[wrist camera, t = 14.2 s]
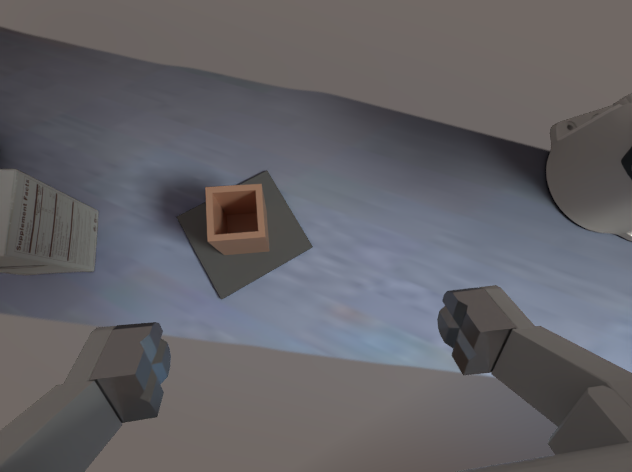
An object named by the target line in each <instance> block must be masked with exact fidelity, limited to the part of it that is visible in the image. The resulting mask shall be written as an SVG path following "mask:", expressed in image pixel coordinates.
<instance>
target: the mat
mask: <svg viewBox="0 0 632 472" xmlns="http://www.w3.org/2000/svg"><path fill="white" fill-rule="evenodd" d="M250 184H262V189H263V194H264V199H265V204H266V210H267V224H268V237H269V250H270V251H269V252H257V253H245V254H234V255H223V254H222V253H221V252H220V251H218V250H217V249H216V248H215V247H213V246H212V245H211V244H210V243H209V242H208V240H207V215H206V202H205V203H203V204H201V205H199V206H197V207H195V208H193V209H191V210H189V211H187V212H185V213H183V214H181V215H179V216H177V219H178V221H179V222H180V224H181V226H182V228H183V230H184V232H185V233H186V235H187V237H188V239H189V241H190V243H191V244H192V246H193V248H194V250H195V252H196V254H197V256H198V257H199V259H200V261H201V263H202V265H203V267H204V268H205V270H206V272H207V274H208V276H209V278H210V279H211V281H212V283H213V285H214V287H215V289H216V291H217V292H218V294H219V296H220V298H221V299H223V298H225V297H227V296H229V295H230V294H232V293H234V292H236V291H237V290H239V289H241V288H242V287H244V286H246V285H248V284H249V283H251V282H253V281H255V280H256V279H258V278H260V277H262V276H263V275H265V274H267V273H269V272H270V271H272V270H274V269H276V268H277V267H279V266H281V265H282V264H284V263H286V262H288V261H289V260H291V259H293V258H295V257H296V256H298V255H300V254H302V253H303V252H305V251H307V250H309V249H310V248H312V245H311V243H310V241H309V240H308V238H307V236H306V235H305V233H304V231H303V230H302V228H301V226H300V225H299V223H298V221H297V220H296V218H295V216H294V215H293V213H292V211H291V210H290V208H289V206H288V205H287V203H286V201H285V200H284V198H283V196H282V195H281V193H280V191H279V190H278V188H277V186H276V185H275V183H274V181H273V179H272V178H271V176H270V174H269V173H268V171H265V172H263V173H261V174H259V175H257V176H255V177H253V178H251V179H250V180H248V181H246V182H244V183H242V184H240V185H250Z"/></svg>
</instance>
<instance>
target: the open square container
mask: <svg viewBox="0 0 632 472" xmlns="http://www.w3.org/2000/svg"><path fill="white" fill-rule="evenodd" d="M205 189H206V215H207V240H208V242H209V243H210V244H211V245H212V246H213V247H215V248H216V249H217V250H218V251H220V252H221V253H222V254H223V255H234V254H245V253H257V252H269V251H270V250H269V237H268V224H267V210H266V204H265V199H264V194H263V189H262V184H250V185H234V186H218V187H205Z"/></svg>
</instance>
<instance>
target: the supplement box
mask: <svg viewBox="0 0 632 472" xmlns="http://www.w3.org/2000/svg"><path fill="white" fill-rule="evenodd" d="M97 229H98V211H97V210H96V209H94V208H92V207H90V206H88V205H86V204H84V203H82V202H80V201H78V200H76V199H74V198H72V197H70V196H68V195H66V194H64V193H62V192H60V191H58V190H56V189H54V188H52V187H50V186H48V185H46V184H44V183H42V182H41V181H39V180H37V179H35V178H33V177H31V176H29V175H27V174H25V173H23V172H21V171H19V170H17V169H0V273H9V274H18V275H35V274H46V273H66V272H94V268H95V257H96V244H97Z"/></svg>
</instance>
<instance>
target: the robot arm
mask: <svg viewBox="0 0 632 472" xmlns="http://www.w3.org/2000/svg"><path fill="white" fill-rule="evenodd" d="M550 137H551V151H550V154H549V157H548V160H547V166H546V177H547V183H548V186H549V190H550V192H551V194H552V197H553V199H554V200H555V202H556V204H557V205H558V206H559V208H560V209H561V210H562V211H563V213H564V214H565V215H566V216H568V217H569V218H570V219H571V220H572V221H574V222H575V223H577V224H578V225H580V226H582V227H584V228H586V229H588V230H591V231H595V232H600V233H611V234H617V235H619V236H621V237H623V238H625V239H627V240H629V241H632V93H631V94H629V95H627V96H625V97H624V98H622V99H620V100H619V101H618V102H616V103H614V104H613V105H612V106H608V107H605V108H602V109H599V110H596V111H593V112H589V113H586V114H583V115H580V116H577V117H574V118H571V119H567V120H564V121H561V122H559V123H557V124H555V125H553V126H552V127H551V129H550ZM442 301H443V303H444V304H445V307H444V308H442V309H441V310H440V311H439V315H438V319H437V320H438V329H439V332H440V335H441V337H442V339H443V341H444V342H445V343H446V344H447V345H449V346H450V347H452V348H453V352H452V357H453V358H454V360H455V362H456V364H457V365H458V367H459V369H460V371H461V372H462V374H463V375H471V374H481V373H490V372H492V375H493V376H495V377H496V378H497V379H498V380H500V381H501V382H502V383H504V384H505V385H506V386H507V387H509V388H510V389H511V390H512V391H514V392H515V393H516V394H517V395H519V396H520V397H521V398H522V399H524V400H525V401H526V402H527V403H529V404H530V405H531V406H532V407H534V408H535V409H536V410H537V411H539V412H540V413H541V414H542V415H544V416H545V417H546V418H548V419H549V420H550V421H551V422H553V423H554V424H555V425H556V426H558V428H557V429H556V430H555V432H554V433H553V434H552V436H551V437H550V439H549V442H548V445H549V446H550V448H551V449H552V451H553V452H554V454H555V455H551V456H545V457H539V458H533V459H527V460H521V461H516V462H510V463H504V464H498V465H492V466H487V467H480V468H475V469H468V470H463V471H457V472H632V373H631V372H629V371H627V370H625V369H623V368H621V367H619V366H617V365H615V364H613V363H611V362H609V361H607V360H605V359H603V358H601V357H599V356H598V355H596V354H594V353H592V352H590V351H588V350H586V349H584V348H582V347H580V346H578V345H576V344H574V343H572V342H570V341H568V340H566V339H565V338H563V337H561V336H559V335H557V334H555V333H553V332H551V331H549V330H547V329H545V328H543V327H541V326H534V325H533V323H532V322H531V321H530V320H529V319H528V318H527V317H526V316H525V314H524V313H523V312H522V311H521V310H520V309H519V308H518V307H517V305H516V304H515V303H514V302H513V301H512V300H511V299H510V298H509V297H508V295H507V294H506V293H505V292H504V291H503V290H502V289H501V288H500V287H498V286H496V285H495V286H486V287H479V288H469V289H460V290H452V291H447V292H446V293H445V294H444V297H443V300H442ZM162 333H163V330H162V328H161V326H160V324H159V323H157V322H153V323H141V324H129V325H117V326H109V327H98V328H96V329H95V330H94V331H92V332H91V334H90V336H89V338H88V340H87V342H86V343H85V345H84V347H83V349H82V351H81V353H80V354H79V356H78V358H77V360H76V362H75V364H74V366H73V368H72V369H71V371H70V373H69V375H68V377H67V378H66V380H65V382H64V384H62V385H56V386H55V387H54V388H53V389H51V390H50V391H49V392H48V393H46V394H45V395H44V396H43V397H41V398H40V399H39V400H38V401H36V402H35V403H34V404H33V405H32V406H30V407H29V408H28V409H27V410H25V411H24V412H23V413H22V414H20V415H19V416H18V417H17V418H15V419H14V420H13V421H12V422H11V423H9V424H8V425H7V426H5V427H4V428H3V429H2V430H1V431H0V472H85V470H86V469H87V468H88V467H89V465H90V464H91V463H92V462H93V461H94V459H95V458H96V457H97V456H98V454H99V453H100V452H101V451H102V449H103V448H104V447H105V446H106V444H107V443H108V442H109V441H110V440H111V438H112V437H113V436H114V435H115V433H116V432H117V431H118V430H119V428H120V427H121V426H122V423H125V422H131V421H136V420H143V419H148V418H155V417H157V416H158V412H159V408H160V405H161V401H162V397H163V393H164V392H163V390H162V387H161V383H162V382H163V381H164V380H165V379H166V378H167V377H168V373H169V369H170V358H171V355H170V349H169V346H168V343H167V342H166V341H164V340H163V339H161V336H162Z"/></svg>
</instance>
